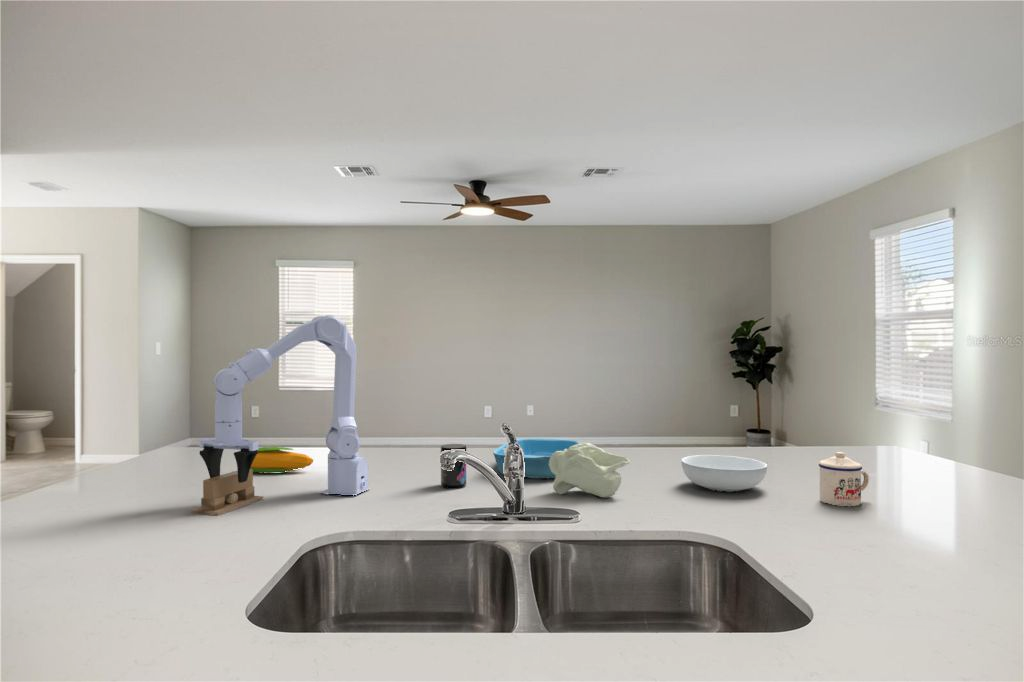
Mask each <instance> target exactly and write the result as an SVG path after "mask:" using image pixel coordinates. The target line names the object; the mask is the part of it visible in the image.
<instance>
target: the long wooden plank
mask: <svg viewBox="0 0 1024 682" xmlns="http://www.w3.org/2000/svg"><path fill="white" fill-rule="evenodd" d="M253 475H254V472H253V469H250V471H249V474H248V478H247V481H245V482H242V483H239V482H238V470H234V471H232V472H231V471H230V472H228V473H227V472H226V473H224V474H220V476H217V477H213V478H210V477H209V478H207V479H203V481H202V482H203V483H202V487H203V488H202V490H203V491H202V493H203V494H202V498H204V499H216V498H219V497H222V496H225V495H228V494H231V493H234V492H237V491H240V490H243V489H246V488H249V487H252V486H254V482H253V481H254V480H253V479H254V478H253Z"/></svg>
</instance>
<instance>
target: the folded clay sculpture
mask: <svg viewBox="0 0 1024 682" xmlns="http://www.w3.org/2000/svg"><path fill="white" fill-rule="evenodd" d="M630 463H631V461H630V459H628V458H627V457H625V456H622V455H618V454H614V453H610V452H608V451H606V450H604V449H602V448H600V447H598V446H596V445H595V444H592V443H590V442H580V443H579V444H576V445H573V446H570V447H569V449H568V450H567V449H564V450H563V451H556V452H555V453H553V454H552V455H551V458H550V460H549V467H550V469H551V472H553V473H554V474H555V475H556V478H554V480H553V485H552V486H553V490H554V492H555V493H556V494H557V495H559V494H562V495H565V494H566V493H568V492H569V491H570V490H571V489H574V488H577V489H579V490H581V491H583V492H584V493H586V494H592V495H594V496H598V497H599V498H603V499H604V498H606V499H607V498H610V497H613V496H614V495H616V492H617V491H618V490H619V488H620V486H621V484H622V475H621V474H620V473H619V472H618V471H617V469H620V468H623V467H626V466H627V465H629V464H630Z"/></svg>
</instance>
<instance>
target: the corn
mask: <svg viewBox="0 0 1024 682" xmlns="http://www.w3.org/2000/svg"><path fill="white" fill-rule="evenodd" d="M293 450H294V448H291V447H290V448H289V447H285V446H284V447H283V446H282V447H281V446H267V447H266V446H265V447H258V453H257V455H256V457H255V458H254V460H253V462H252V465H251V468H250V469H253V473H256V472H262V473H261V474H265V473H264V472H285V471H287V470H293V469H298V468H302V469H304V468H306V467H309V466H311V465H312V464H313V462H314V459H313V458H312V457H310V456H309V455H307V454H306V453H305V454H304V453H299V452H291V451H293ZM298 470H299V469H298Z"/></svg>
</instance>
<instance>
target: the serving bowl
mask: <svg viewBox="0 0 1024 682" xmlns="http://www.w3.org/2000/svg"><path fill="white" fill-rule="evenodd" d="M680 461H681V467H682V470H683V473H684V475H685V476H686V478H687V479H688V480H689V481H690V482H692V483H694V484H696V485H698V486H699V487H703V488H706V489H707V488H708V489H707V490H710V489H711V490H710V491H715V490H717V491H716V492H722V491H726V492H727V493H732V492H734V491H736V492H741V491H743V490H750V489H752V488H755V487H756V486H758V485H759V484H761V483H762V481H764V479H765V477H766V474H767V469H768V464H767V463H765V462H763V461H760V460H757V459H753V458H749V457H748V458H747V457H742V456H735V455H733V456H732V455H723V454H722V455H721V454H698V455H696V454H695V455H688V456H686V457H685V456H684V457H682V458H681V460H680Z"/></svg>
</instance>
